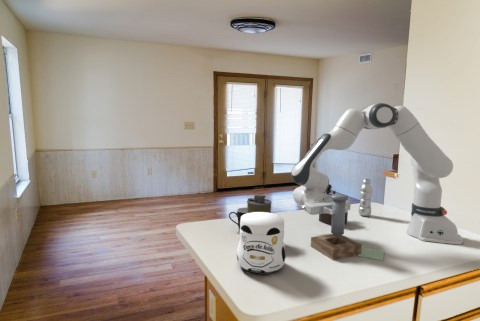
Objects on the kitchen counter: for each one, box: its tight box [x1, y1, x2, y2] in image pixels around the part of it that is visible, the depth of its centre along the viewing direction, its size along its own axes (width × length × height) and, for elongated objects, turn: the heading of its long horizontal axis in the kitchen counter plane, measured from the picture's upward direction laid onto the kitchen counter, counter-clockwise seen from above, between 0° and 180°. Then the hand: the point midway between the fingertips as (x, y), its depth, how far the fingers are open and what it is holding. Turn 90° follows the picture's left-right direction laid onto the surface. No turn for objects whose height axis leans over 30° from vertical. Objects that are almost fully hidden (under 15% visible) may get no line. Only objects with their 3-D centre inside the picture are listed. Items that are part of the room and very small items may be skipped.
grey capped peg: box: [330, 193, 349, 236], centre depth 136 cm, size 6×6×15 cm
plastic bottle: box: [358, 178, 374, 217], centre depth 185 cm, size 6×7×20 cm
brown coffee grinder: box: [318, 183, 349, 226], centre depth 175 cm, size 16×11×18 cm
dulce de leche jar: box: [236, 212, 286, 274], centre depth 121 cm, size 17×17×18 cm
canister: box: [246, 193, 273, 213], centre depth 146 cm, size 11×10×20 cm
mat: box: [357, 247, 385, 262], centre depth 135 cm, size 9×9×1 cm
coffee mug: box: [228, 207, 247, 233], centre depth 159 cm, size 12×9×10 cm
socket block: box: [310, 233, 363, 261], centre depth 138 cm, size 14×14×4 cm
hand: (340, 211), depth 135 cm, fingers closed on grey capped peg, 5 cm apart
